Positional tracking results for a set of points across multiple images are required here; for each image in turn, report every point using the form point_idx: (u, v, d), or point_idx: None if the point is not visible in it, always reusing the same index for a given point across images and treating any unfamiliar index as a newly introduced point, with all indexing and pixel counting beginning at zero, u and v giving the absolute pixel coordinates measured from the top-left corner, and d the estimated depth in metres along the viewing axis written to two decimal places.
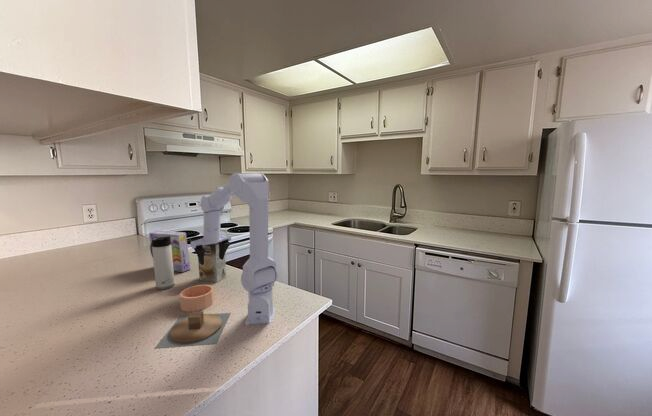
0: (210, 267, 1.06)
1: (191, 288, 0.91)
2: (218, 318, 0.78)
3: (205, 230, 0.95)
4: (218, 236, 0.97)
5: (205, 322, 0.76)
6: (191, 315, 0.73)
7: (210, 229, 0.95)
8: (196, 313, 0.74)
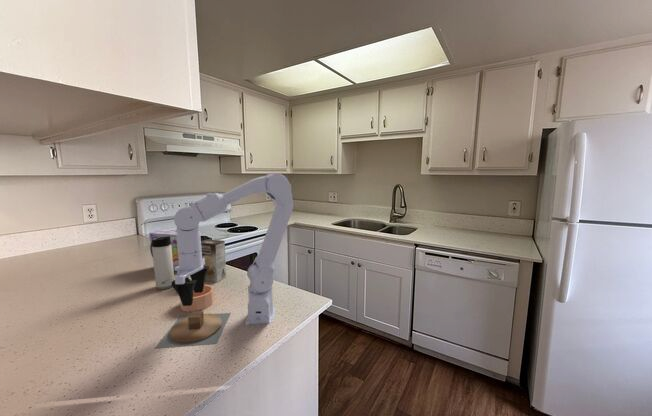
0: (210, 267, 1.06)
1: None
2: (218, 318, 0.78)
3: (188, 255, 0.69)
4: None
5: (205, 322, 0.76)
6: (191, 315, 0.73)
7: (198, 250, 0.71)
8: (196, 313, 0.74)
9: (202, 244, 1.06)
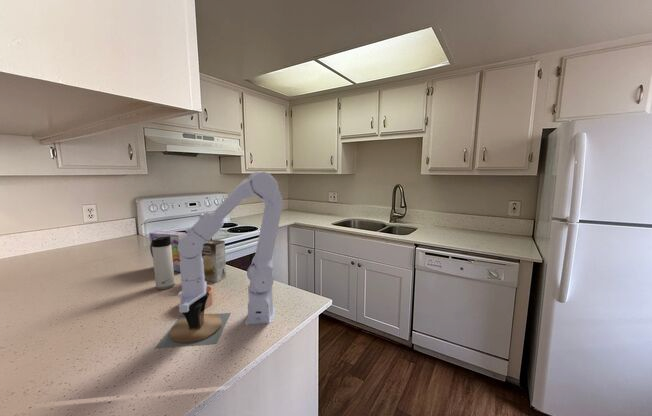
0: (210, 267, 1.06)
1: None
2: (218, 318, 0.78)
3: (191, 282, 0.69)
4: None
5: (205, 322, 0.76)
6: None
7: (201, 276, 0.71)
8: None
9: None
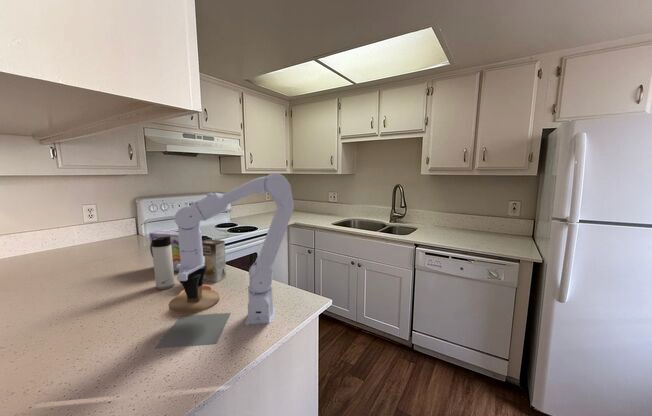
0: (210, 267, 1.06)
1: None
2: (216, 293, 0.79)
3: (189, 253, 0.71)
4: None
5: (203, 296, 0.77)
6: None
7: (199, 249, 0.72)
8: None
9: (202, 244, 1.06)
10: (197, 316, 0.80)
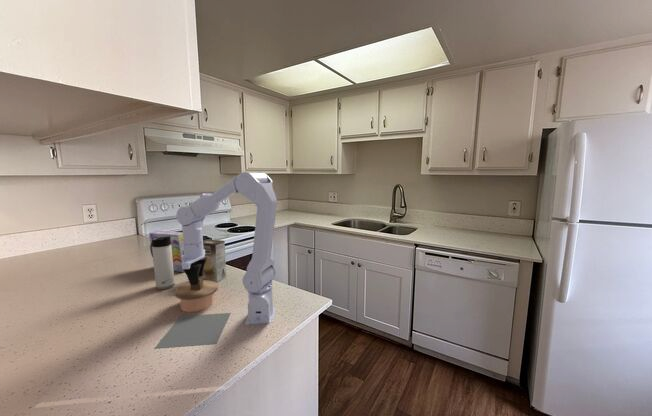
0: (210, 267, 1.06)
1: None
2: (215, 283, 0.91)
3: (192, 246, 0.83)
4: (203, 249, 0.87)
5: (204, 285, 0.89)
6: None
7: (195, 243, 0.83)
8: None
9: None
10: (197, 316, 0.80)
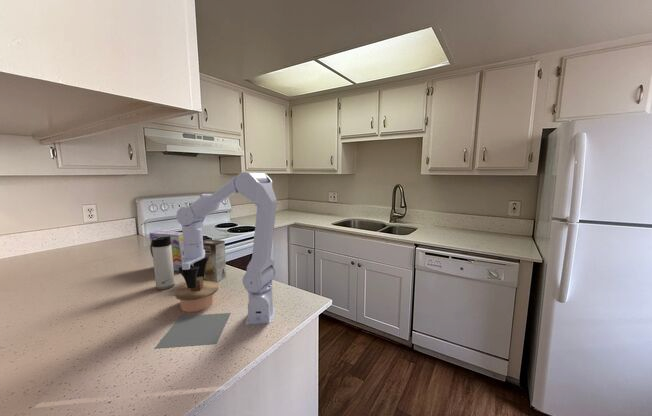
0: (210, 267, 1.06)
1: None
2: (215, 283, 0.91)
3: (192, 246, 0.83)
4: None
5: (204, 286, 0.89)
6: None
7: (195, 244, 0.83)
8: (197, 278, 0.87)
9: None
10: (197, 316, 0.80)
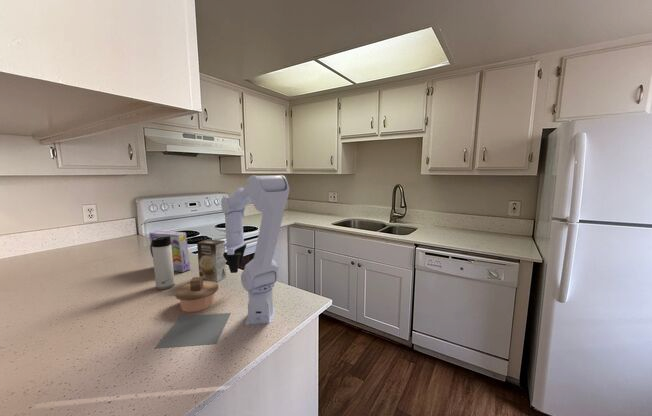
0: (210, 267, 1.06)
1: None
2: (215, 283, 0.91)
3: (234, 233, 0.89)
4: None
5: (204, 286, 0.89)
6: (192, 279, 0.87)
7: (232, 231, 0.88)
8: (197, 278, 0.87)
9: (202, 244, 1.06)
10: (197, 316, 0.80)
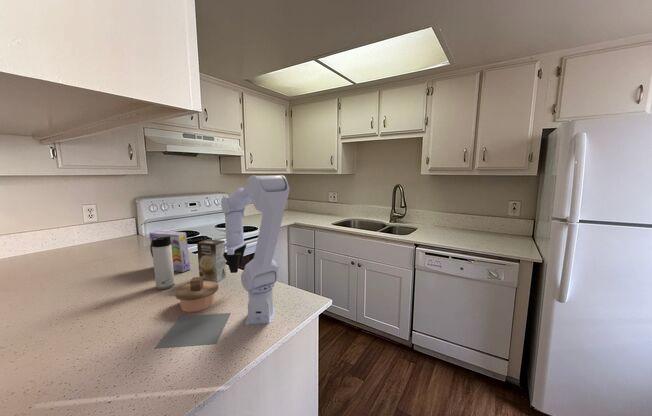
0: (210, 267, 1.06)
1: None
2: (215, 283, 0.91)
3: (234, 233, 0.89)
4: None
5: (204, 286, 0.89)
6: (192, 279, 0.87)
7: (232, 231, 0.88)
8: (197, 278, 0.87)
9: (202, 244, 1.06)
10: (197, 316, 0.80)
